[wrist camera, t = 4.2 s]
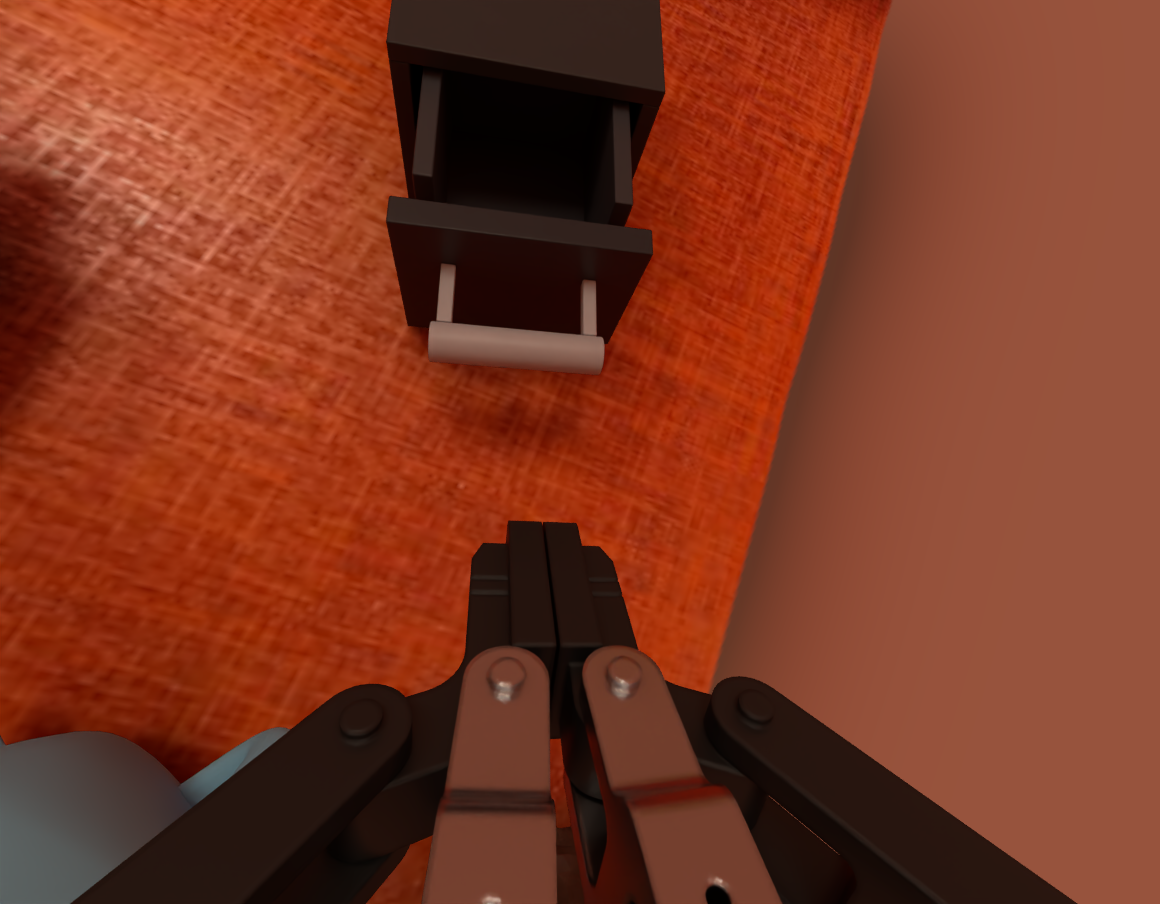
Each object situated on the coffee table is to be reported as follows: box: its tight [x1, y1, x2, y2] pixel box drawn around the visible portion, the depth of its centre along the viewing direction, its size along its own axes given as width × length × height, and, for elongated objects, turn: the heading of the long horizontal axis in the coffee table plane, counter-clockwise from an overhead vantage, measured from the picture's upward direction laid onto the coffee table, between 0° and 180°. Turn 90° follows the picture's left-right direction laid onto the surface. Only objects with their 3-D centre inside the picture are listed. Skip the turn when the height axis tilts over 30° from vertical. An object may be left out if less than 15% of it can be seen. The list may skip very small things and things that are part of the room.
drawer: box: [386, 66, 653, 375], centre depth 26 cm, size 17×10×8 cm, turn 0°
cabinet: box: [386, 0, 665, 199], centre depth 29 cm, size 14×12×10 cm
